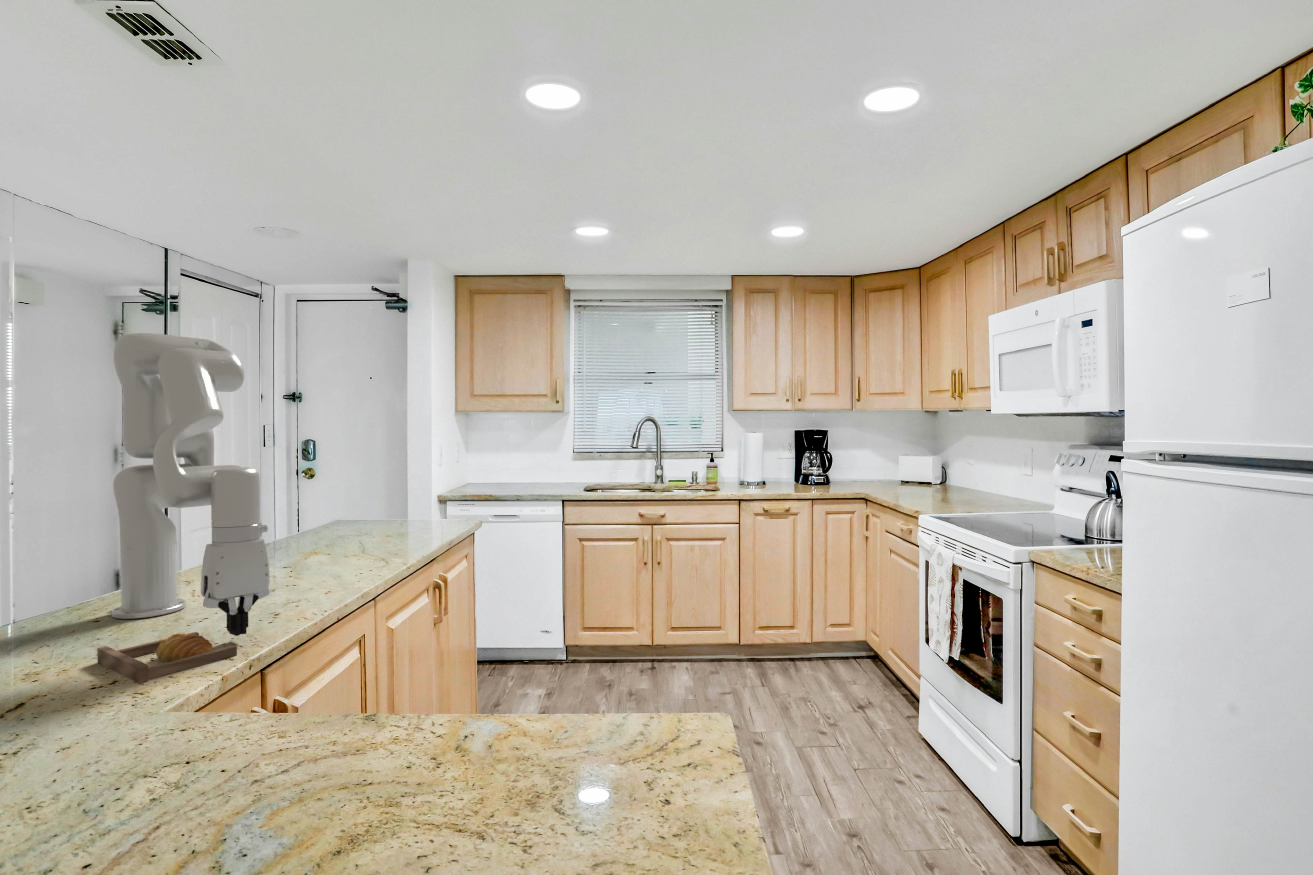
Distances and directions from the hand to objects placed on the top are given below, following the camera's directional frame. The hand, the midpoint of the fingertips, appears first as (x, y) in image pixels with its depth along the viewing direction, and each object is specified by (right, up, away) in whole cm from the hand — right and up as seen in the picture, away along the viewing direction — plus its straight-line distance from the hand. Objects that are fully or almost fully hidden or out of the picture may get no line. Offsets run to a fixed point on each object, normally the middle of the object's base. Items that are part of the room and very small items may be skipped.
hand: (237, 633), depth 118 cm
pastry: (-4, -2, -8) cm, 9 cm away
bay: (-5, -2, -9) cm, 10 cm away
